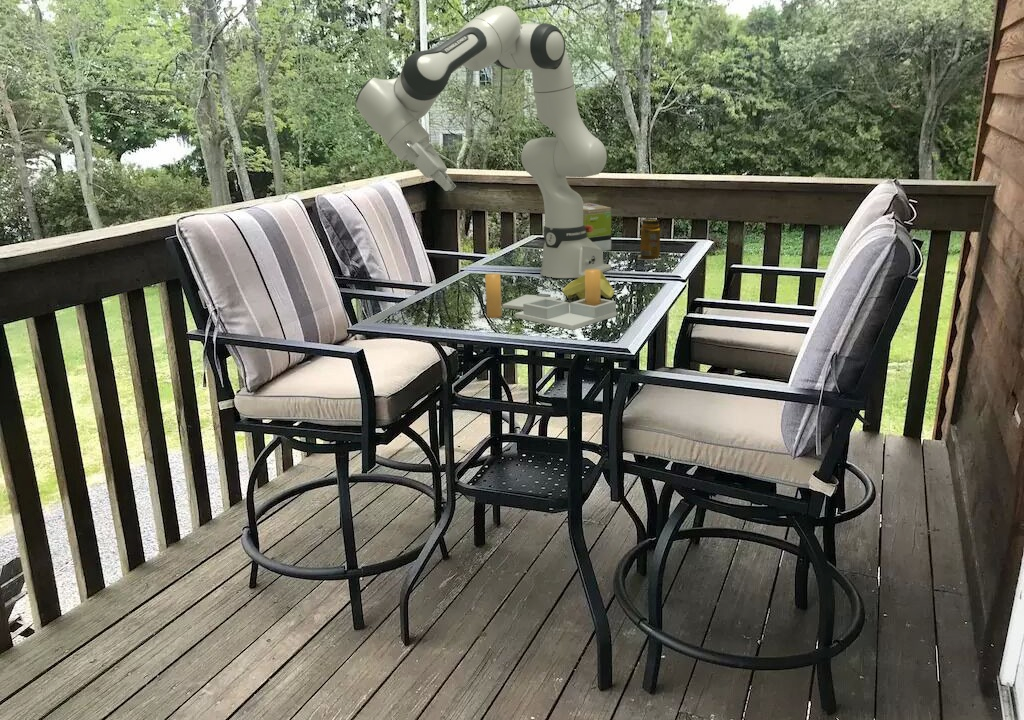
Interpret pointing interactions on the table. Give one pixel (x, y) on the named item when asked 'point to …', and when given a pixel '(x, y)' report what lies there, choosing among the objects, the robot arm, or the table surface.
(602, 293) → the plastic component
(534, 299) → the lid
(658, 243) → the condiment
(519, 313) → the housing
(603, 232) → the tea box
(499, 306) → the pin
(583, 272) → the robot arm
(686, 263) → the table surface
